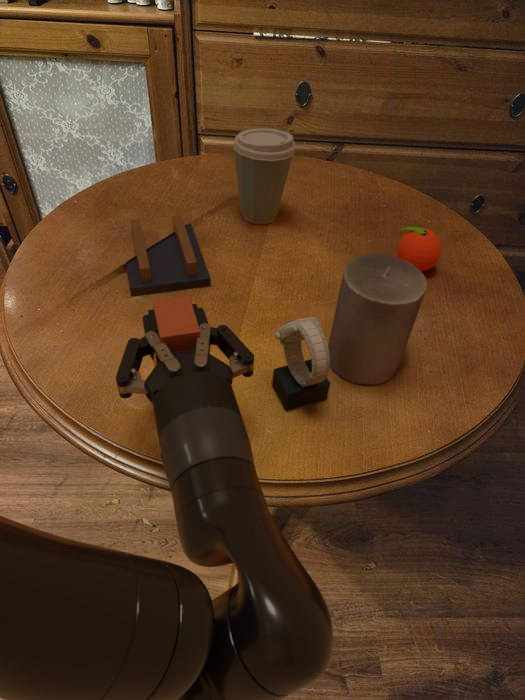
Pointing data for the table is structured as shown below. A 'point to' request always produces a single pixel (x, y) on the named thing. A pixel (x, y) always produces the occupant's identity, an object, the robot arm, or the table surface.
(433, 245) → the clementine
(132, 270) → the base
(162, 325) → the red rectangular block
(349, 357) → the pillar candle
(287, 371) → the watch
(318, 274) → the table surface
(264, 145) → the disposable coffee cup
